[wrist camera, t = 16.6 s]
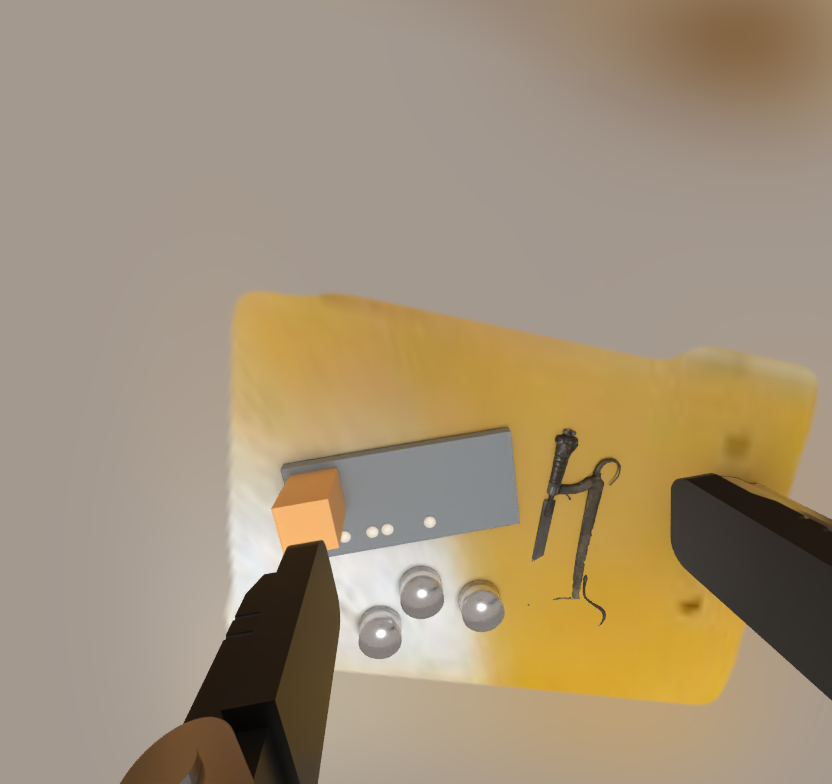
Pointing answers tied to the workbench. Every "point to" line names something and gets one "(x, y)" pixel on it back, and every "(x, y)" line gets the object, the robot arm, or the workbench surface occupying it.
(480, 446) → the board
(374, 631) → the steel cylinder
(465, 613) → the steel cylinder
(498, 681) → the workbench surface
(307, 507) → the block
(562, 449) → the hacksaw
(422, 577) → the steel cylinder
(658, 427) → the workbench surface
